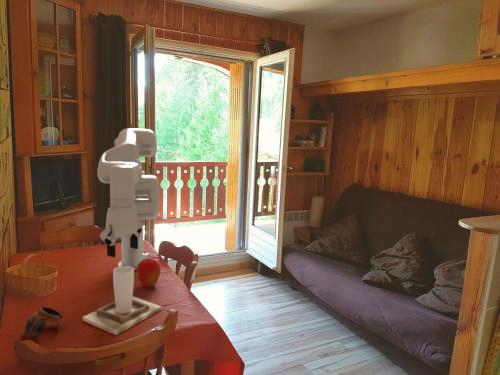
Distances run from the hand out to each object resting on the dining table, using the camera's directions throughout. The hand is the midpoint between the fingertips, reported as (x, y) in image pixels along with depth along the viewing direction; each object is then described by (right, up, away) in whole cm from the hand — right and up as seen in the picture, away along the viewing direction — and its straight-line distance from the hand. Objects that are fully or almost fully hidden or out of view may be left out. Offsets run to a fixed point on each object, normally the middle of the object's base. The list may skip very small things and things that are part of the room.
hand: (123, 252), depth 124 cm
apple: (+1, -19, +27) cm, 33 cm away
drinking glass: (-1, -21, +3) cm, 21 cm away
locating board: (-1, -22, +3) cm, 22 cm away
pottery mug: (-22, -24, -10) cm, 33 cm away
